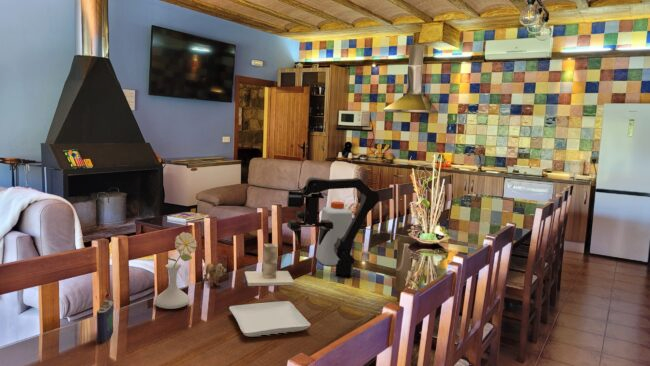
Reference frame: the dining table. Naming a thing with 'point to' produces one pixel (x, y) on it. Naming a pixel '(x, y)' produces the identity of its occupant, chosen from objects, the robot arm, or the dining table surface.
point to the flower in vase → (173, 294)
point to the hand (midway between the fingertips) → (309, 244)
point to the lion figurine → (214, 272)
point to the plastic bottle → (333, 232)
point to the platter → (258, 280)
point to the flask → (105, 322)
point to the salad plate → (268, 318)
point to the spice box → (269, 261)
